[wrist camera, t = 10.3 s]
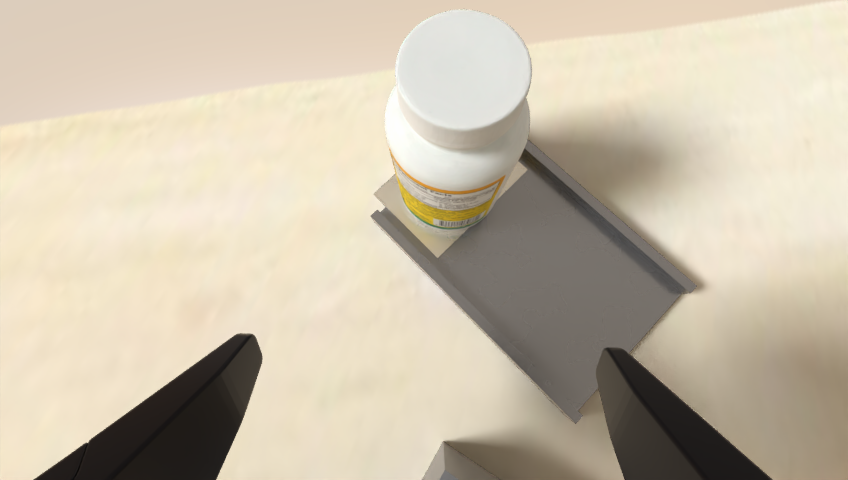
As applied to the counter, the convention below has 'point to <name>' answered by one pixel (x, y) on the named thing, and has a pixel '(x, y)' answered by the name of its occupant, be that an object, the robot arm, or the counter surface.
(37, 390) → the counter surface
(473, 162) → the supplement bottle
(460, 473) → the block
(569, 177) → the grey flat tray
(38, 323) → the counter surface
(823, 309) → the counter surface
